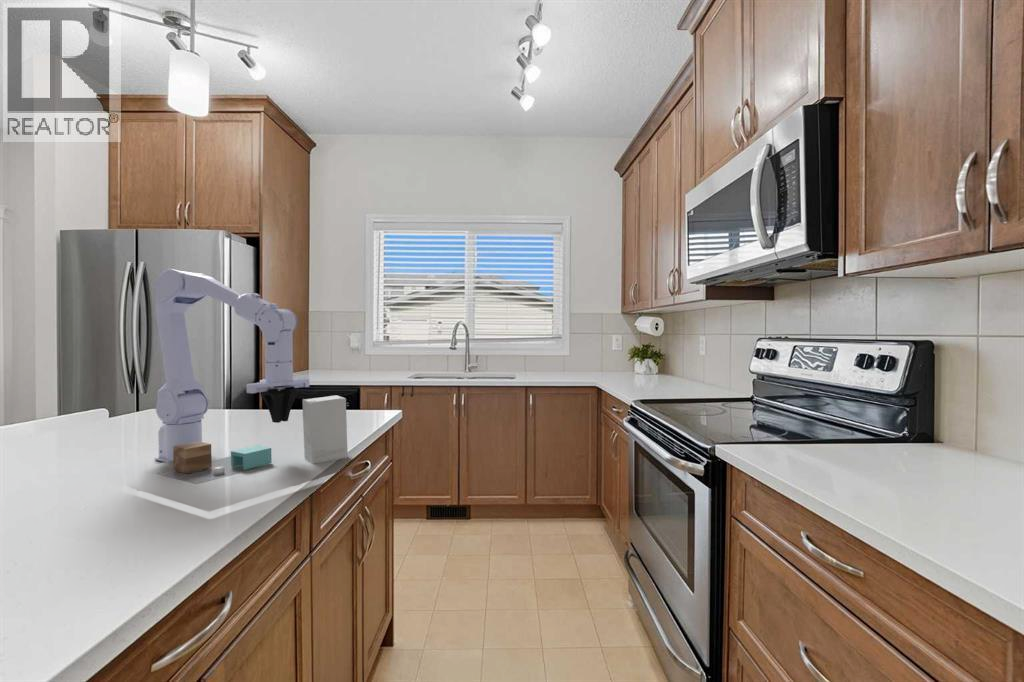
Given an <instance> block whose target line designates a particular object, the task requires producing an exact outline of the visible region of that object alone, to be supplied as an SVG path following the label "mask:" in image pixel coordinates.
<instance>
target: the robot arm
mask: <svg viewBox="0 0 1024 682" xmlns="http://www.w3.org/2000/svg"><path fill="white" fill-rule="evenodd" d="M153 283H154V289H155V296H156V298H155V304H154V312H155V317H156V318H155V319H156V323H157V331H158V338H159V344H160V350H161V355H162V363H163V369H164V377H165V381H166V382H165V383H164V384H163V385H162V387H160V389H158V391H156V394H157V395H156V396H157V401H156V404H155V412H156V415H157V417H158V418H159V419H160V420H161V421H162V425H161V426H160V428H159V430H158V433H157V434H158V437H157V438H158V456H156V457H154V460H156V461H159V462H164V463H168V462H173V446H177V445H182V444H188V443H193V442H203V433H202V432H203V426H202V425H203V423H202V421H203V419H205V417H204V416H205V414H206V413H207V412H208V411H209V408H210V400H209V397H208V395H207V394H206V393H205V389H204V385H203V384H202V383H200V382H199V381H198V380H196V379H195V376H194V369H193V363H192V357H191V351H190V343H189V336H188V331H187V324H186V319H185V314H186V312H187V311H188V310H189V309H190V308H191V307H193V306H195V305H196V304H198V303H199V302H201V301H202V300H204V299H206V297H208V296H209V297H210V298H212V299H214V300H217V301H219V302H221V303H224V304H226V305H228V306H229V307H233V309H234V312H235V314H236V316H238V317H240V318H242V319H244V320H246V321H248V322H251V323H252V324H254V325H256V326H258V327H259V330H260V331H261V333H262V335H263V340H264V369H265V370H264V371H265V372H264V373H265V375H264V378H265V381H258V382H254V383H252V382H251V383H246V389H245V390H246V394H257V393H260V396H261V398H262V399H263V401H264V402H265V404H266V407H267V409H268V412H269V415H270V418H271V422H272V423H276V424H277V423H278V424H279V423H282V422H289V417H290V413H291V409H292V407H293V403H294V401H295V399H296V398H297V396H298V395H299V389H298V388H309V387H310V378H305V377H304V378H294V356H293V355H294V351H293V349H294V348H293V347H294V346H293V345H294V344H293V333H294V331H295V330H296V328H297V327H298V317H297V315H296V314H295V313H294V312H293V311H292V310H291V309H289V308H279V307H278V304H277V303H275V302H268V301H267V300H264V299H263V298H261V295H260V294H259V293H256V292H255V293H254V292H252V293H251V292H247V293H243V294H241V293H239V292H238V291H236V290H234V289H233V288H231V287H229V286H227V285H225V284H223V283H222V282H220V281H219V280H216V279H215V278H214V277H213V276H208V275H206V274H205V273H202V272H192V271H191V272H189V271H183V270H177V269H173V268H166V269H165V270H163V271H162V272H161V273H159V274H158V276H157V277H156V279H154V282H153ZM181 392H183V393H181Z"/></svg>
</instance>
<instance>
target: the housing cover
mask: <svg viewBox="0 0 1024 682" xmlns="http://www.w3.org/2000/svg"><path fill="white" fill-rule="evenodd" d="M230 456H231V467H235V466H240V465H243V469H244V470H246V469H250V468H254V467H258V466H262V465H265V464H269V463H270V464H273V463H272V461H273V460H272V447H268V446H262V445H254V446H249V447H244V448H238V449H234V450H231V451H230Z"/></svg>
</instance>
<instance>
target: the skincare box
mask: <svg viewBox="0 0 1024 682" xmlns="http://www.w3.org/2000/svg"><path fill="white" fill-rule="evenodd" d="M302 422H303V423H302V424H303V448H304V460H306V461H308V462H309V463H311V464H314V465H315V464H319V463H320V464H321V463H326V462H331V461H338V460H341V459H348V457H349V455H348V429H347V428H348V427H347V426H348V425H347V424H348V423H347V398H346V397H343V396H340V395H328V396H323V397H313V398H306V399H305V398H303V399H302Z"/></svg>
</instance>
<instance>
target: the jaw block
mask: <svg viewBox="0 0 1024 682" xmlns="http://www.w3.org/2000/svg"><path fill="white" fill-rule="evenodd" d="M212 460H213V459H212V444H211V443H209V442H203V441H202V442H193V443H188V444H182V445H177V446H173V461H172V462H173V469H174V470H175V471H179V472H183V473H190V472H195V471H199V470H203V469H207V468H212Z"/></svg>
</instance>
